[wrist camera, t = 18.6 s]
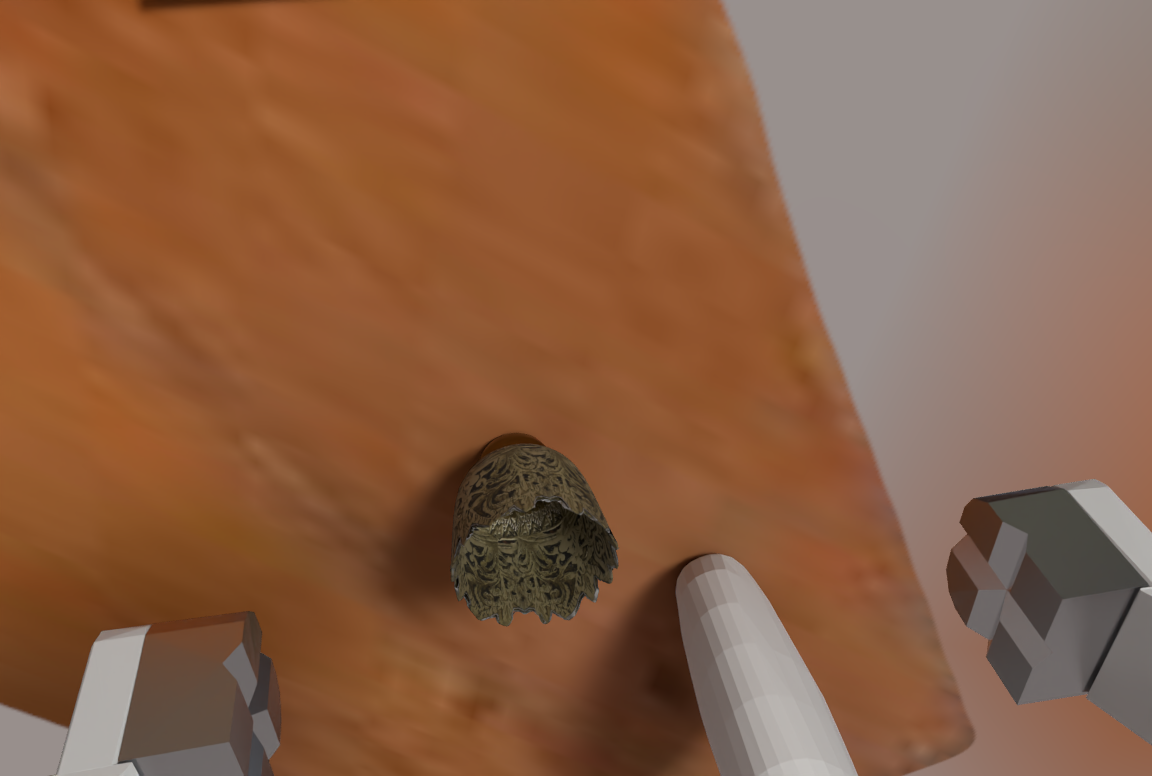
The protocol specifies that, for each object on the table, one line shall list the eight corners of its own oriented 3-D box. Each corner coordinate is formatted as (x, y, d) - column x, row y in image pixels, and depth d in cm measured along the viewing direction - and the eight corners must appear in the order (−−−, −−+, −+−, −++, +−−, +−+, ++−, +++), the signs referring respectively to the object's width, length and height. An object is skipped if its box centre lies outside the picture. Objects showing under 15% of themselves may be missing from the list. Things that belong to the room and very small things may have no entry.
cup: (428, 506, 49) (439, 629, 42) (449, 390, 45) (464, 508, 38) (568, 511, 51) (598, 629, 44) (600, 401, 47) (638, 514, 40)
